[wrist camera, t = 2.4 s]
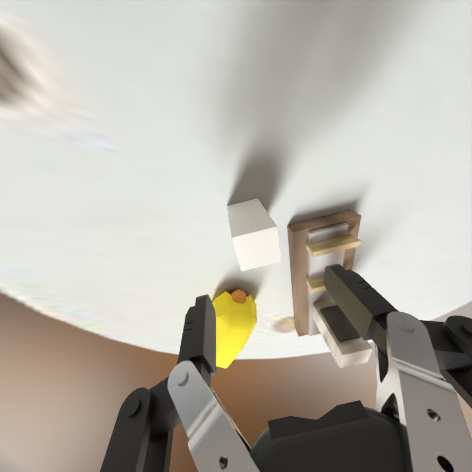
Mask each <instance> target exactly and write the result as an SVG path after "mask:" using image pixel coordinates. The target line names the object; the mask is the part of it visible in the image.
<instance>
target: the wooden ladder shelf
mask: <svg viewBox="0 0 472 472" xmlns="http://www.w3.org/2000/svg"><path fill="white" fill-rule="evenodd" d="M360 219H361V215H359V214H357V213H355V212H353V211H351V210H348V211H344V212H340V213H336V214H332V215H328V216H324V217H320V218H316V219H312V220H308V221H304V222H300V223H296V224H292V225H288V226H287V228H288V241H289V255H290V268H291V281H292V294H293V308H294V321H295V329H296V331H297V333H298V336H303V335H308V334H309V336H312V335H317V334H322V336H323V338H324V340H325V342H326V344H327V346H328V347H329V349H330V351H331V353H332V355H333V357H334V358H335V360H336V362H337V364H338V366H339V368H343V367H347V366H352V365H356V364H361V363H366V362H368V359H369V357H370V354H371V351H372V349H373V348H372V347H371V346H370V344H369V343H368V342H367V340H366V341H364V340H363V338H362V337H361V336H360V334H359V333H358V332H357V330H356V329H355V328H354V326H353V325H352V324H351V322H350V321H349V320H348V318H347V317H346V316H345V314H344V313H343V312H342V310H341V309H340V308H339V306H338V305H337V304H336V302H335V301H334V300H333V298H332V297H331V296H330V294H329V293H328V291H327V290H326V288H325V285H324V276H325V267H326V266H329V265H333V264H340V265H341V266H342V267H343V268H344V269H345V270H349V269H350V270H351V269H352V264H353V258H354V253H355V247H358V246H360V243H361V240H359V239H358V238H357V236H358V230H359V225H360Z"/></svg>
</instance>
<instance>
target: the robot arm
mask: <svg viewBox="0 0 472 472" xmlns="http://www.w3.org/2000/svg"><path fill="white" fill-rule="evenodd" d="M324 285H325V288H326V290H327V291H328V293H329V294H330V296H331V297H332V298H333V300H334V301H335V302H336V304H337V305H338V306H339V308H340V309H341V310H342V312H343V313H344V314H345V316H346V317H347V318H348V320H349V321H350V322H351V324H352V325H353V326H354V328H355V329H356V330H357V332H358V333H359V334H360V336H361V337H362V338H363V340H364V341H366V340H370V339H372V340H373V341H374V343H375V344H376V345H375V353H376V368H377V393H376V410H374V409H370V408H367V407H363V405H362V403H361V401H360V400H359V401H355V402H350V403H346V404H341V405H337V406H336V407H334V408H333V409H332V410H330V411H329V412H328V413H326V414H325V415H323V416H322V417H321V418H319V419H318V420H313V419H306V418H299V417H293V416H289V417H285V418H280V419H275V420H271V421H268V424H269V427H268V428H267V429H266V430H264V431H263V432H262V433H261V435H260V436H259V437H258V438H257V440H256V441H255V443H254V445H253V447H252V449H251V448H250V446H249V444H248V443H247V442H246V440H245V438H244V437H243V435H242V434H241V432H240V431H239V429H238V428H237V426H236V425H235V423H234V422H233V420H232V419H231V418H230V416H229V414H228V413H227V411H226V410H225V408H224V407H223V405H222V403H221V402H220V400H219V399H218V397H217V396H216V394H215V392H214V391H213V389H212V388H211V386H210V383H211V380H210V379H211V376H212V375H216V312H215V308H214V306H213V304H212V302H211V299H210V297H209V295H208V294H207V295H203V296H199V297H197V298H196V303H195V306H193V307H190V308H189V310H188V312H187V314H186V317H185V323H184V324H185V325H184V329H183V335H182V341H181V347H180V352H179V358H178V362H177V365H176V366H175V368H174V369H173V370H172V372H171V374H170V375H169V376H168V377H167V378H166V379H165V380H163V381H162V382H160V383H159V384H157V385H156V386H154V387H152V388H151V389H149V390H148V389H146V388H138V389H136V390H134V391H133V392H132V393H131V394H130V395H129V396H128V397H127V398H126V400H125V401H124V403H123V404H122V406H121V408H120V411H119V414H118V417H117V420H116V423H115V426H114V429H113V433H112V436H111V439H110V442H109V445H108V449H107V451H106V455H105V458H104V461H103V464H102V467H101V470H100V472H169V466H170V457H171V447H172V438H173V429H174V428H175V427H176V426H178V425H179V424H180V423H183V426H184V428H185V430H186V433H187V436H188V446H189V450H190V452H191V455H192V457H193V460H194V462H195V464H196V467H197V469H198V472H472V439H471V436H470V433H469V430H468V427H467V424H466V421H465V418H464V415H463V412H462V409H461V406H460V403H459V400H458V397H457V394H456V392H455V390H456V391H457V393H458V394H459V395H460V396H461V397H462V398H463V399H464V400H465V401H466V403H468V405H469V406H470V407H471V408H472V319H471V318H467V317H463V316H450V317H448V318H447V320H446V321H445V322H435V321H423V320H418V319H417V318H415V317H414V316H412V315H409V314H407V313H404V312H399V311H398V310H397V309H395V308H394V307H393V306H392V305H391V304H390V303H389V302H388V301H387V300H386V299H385V298H384V297H382V296H381V295H380V294H379V293H378V292H377V291H376V290H375V289H374V288H372V287H371V285H370V284H368V283H367V282H366V281H365V280H364V279H363V278H362V277H361V276H360V275H359V274H357V273H355V272H353V271H351V270H350V269H349V270H345V269H344V268H343V267H342V266H341V265H340V264H333V265H329V266H326V267H325V276H324ZM441 375H442V376H443V377H444V378H445V379H446V380H447V381H445V380H444V379H443V378H442V376H441ZM454 389H455V390H454Z"/></svg>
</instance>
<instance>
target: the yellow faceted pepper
mask: <svg viewBox="0 0 472 472" xmlns="http://www.w3.org/2000/svg"><path fill="white" fill-rule="evenodd" d="M213 306H214V308H215V312H216V366H219V367H223V368H227V367H228V366H229V365H230V364H231V363H232V361H233V360H234V359H235V358H236V356H237V355H238V354H239V352H240V351H241V350H242V348H243V347H244V346H245V344H246V342H247V340H248V338H249V336H250V334H251V332H252V330H253V328H254V326H255V324H256V323H257V313H256V304H255V302H254V300H253V298H252V296H251V295H249V296H247V297H246V294H245V292H244V291H242V290H239V289H237V290H235V291H234V292H233V293H232V294H229V293H228V292H226V291H225V292H224V293H222V294H221V295H220V296H218V297H217V298H216V299H214V301H213Z"/></svg>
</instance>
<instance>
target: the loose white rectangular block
mask: <svg viewBox="0 0 472 472" xmlns="http://www.w3.org/2000/svg"><path fill="white" fill-rule="evenodd" d="M227 209H228V216H229V223H230V229H231V236H232V241H233V244H234V248H235V251H236V255H237V258H238V262H239V265H240V269H241V271H245V270H249V269H254V268H258V267H262V266H266V265H270V264H274V263H278V262H281V256H280V247H279V238H278V229H277V226H276V224H275V223H274V221H273V220H272V218H271V217H270V215H269V214H268V213H267V211H266V210H265V208H264V207H263V205H262V204H261V202H260V201H259V199H258V198H256V199H252V200H248V201H244V202H240V203H236V204H233V205H229V206H227Z"/></svg>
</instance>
